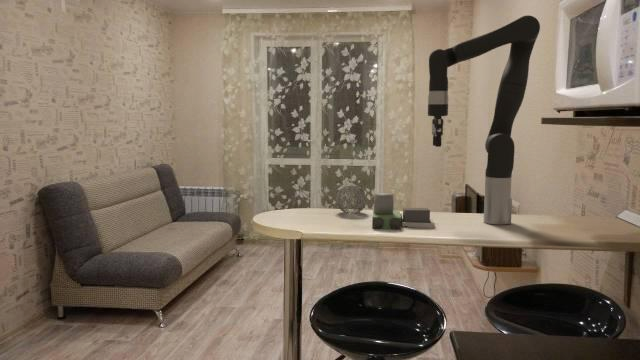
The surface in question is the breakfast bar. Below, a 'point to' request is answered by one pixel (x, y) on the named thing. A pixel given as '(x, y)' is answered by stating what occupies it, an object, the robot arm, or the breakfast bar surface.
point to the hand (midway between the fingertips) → (436, 146)
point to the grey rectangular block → (416, 215)
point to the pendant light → (351, 193)
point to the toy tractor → (390, 214)
